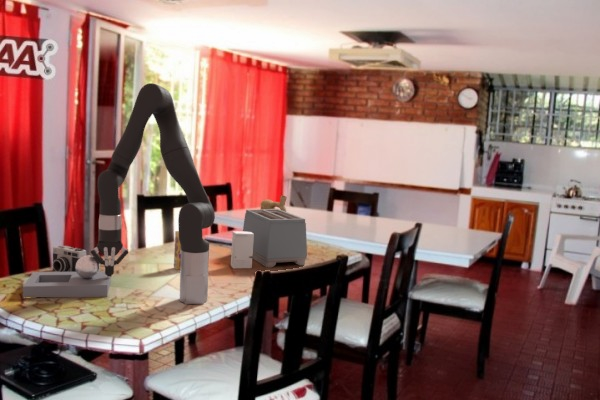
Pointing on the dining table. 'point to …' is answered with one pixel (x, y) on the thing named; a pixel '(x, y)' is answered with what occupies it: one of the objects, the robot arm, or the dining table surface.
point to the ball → (87, 266)
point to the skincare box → (242, 249)
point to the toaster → (276, 236)
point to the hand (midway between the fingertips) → (109, 275)
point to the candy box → (177, 252)
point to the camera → (66, 258)
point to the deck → (66, 285)
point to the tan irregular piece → (274, 204)
